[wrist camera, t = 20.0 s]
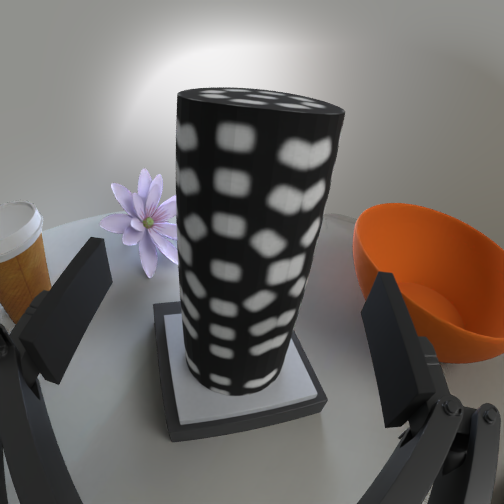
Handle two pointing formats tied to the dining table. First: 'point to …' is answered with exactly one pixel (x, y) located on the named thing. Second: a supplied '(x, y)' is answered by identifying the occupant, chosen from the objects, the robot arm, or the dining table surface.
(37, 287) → the disposable coffee cup
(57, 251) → the dining table surface
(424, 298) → the bowl
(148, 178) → the water lily
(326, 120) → the white-spotted black cylinder
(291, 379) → the scale
